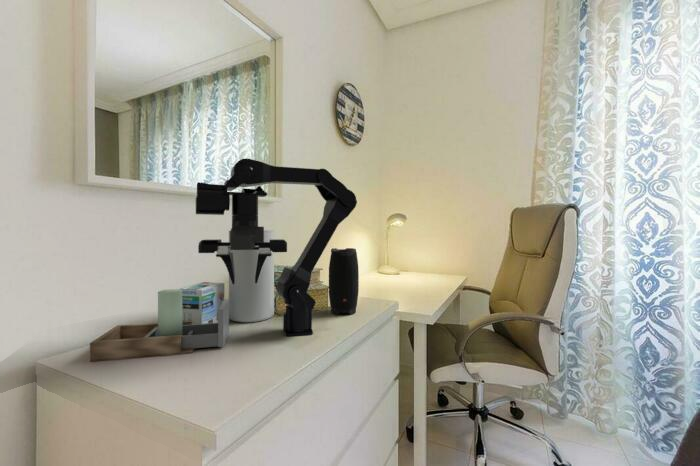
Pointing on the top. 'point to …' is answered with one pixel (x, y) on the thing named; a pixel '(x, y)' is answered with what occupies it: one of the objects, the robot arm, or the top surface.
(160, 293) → the pale green cylinder
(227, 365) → the top surface
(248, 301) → the cylinder vase
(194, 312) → the light bulb box
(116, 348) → the dock
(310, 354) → the top surface
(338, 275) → the portable speaker
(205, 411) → the top surface
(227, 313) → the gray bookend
